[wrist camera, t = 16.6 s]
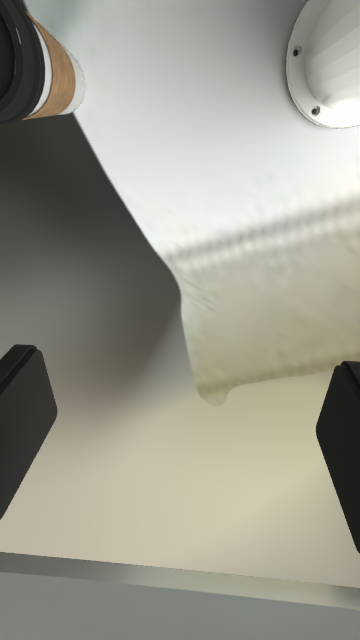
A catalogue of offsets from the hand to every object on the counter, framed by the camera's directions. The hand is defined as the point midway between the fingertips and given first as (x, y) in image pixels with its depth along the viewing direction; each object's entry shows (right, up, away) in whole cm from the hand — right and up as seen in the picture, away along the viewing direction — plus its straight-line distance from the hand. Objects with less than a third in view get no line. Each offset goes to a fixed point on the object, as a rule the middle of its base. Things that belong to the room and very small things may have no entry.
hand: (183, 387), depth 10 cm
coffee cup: (-13, +28, +24) cm, 39 cm away
